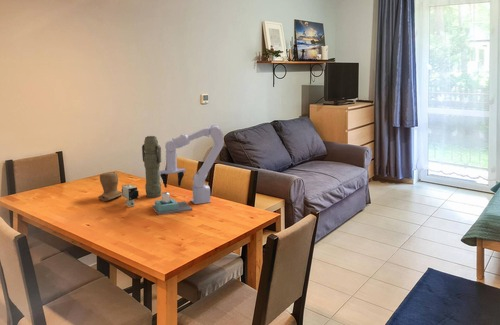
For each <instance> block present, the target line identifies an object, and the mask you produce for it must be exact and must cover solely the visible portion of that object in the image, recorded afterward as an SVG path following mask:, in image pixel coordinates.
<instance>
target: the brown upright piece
mask: <svg viewBox="0 0 500 325" xmlns="http://www.w3.org/2000/svg"><path fill="white" fill-rule="evenodd" d="M99 183H100V185H101V187H102V189H103V193H102V194H100V195H99V196H97V197H98V199H99V200H101V201H103V202H107V201H111V200H113V199H115V198H116V199H117V197H118V198H119V197H121V196H123V194H122V191H119V190H118V185H119V177H118V173H117V172H116V171H110V172H103V173H100V174H99Z"/></svg>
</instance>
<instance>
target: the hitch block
mask: <svg viewBox="0 0 500 325" xmlns="http://www.w3.org/2000/svg"><path fill="white" fill-rule="evenodd" d="M151 207H152V208H153V210H154V211H155V213H156V214H157V216H160V215H169V214H176V213H184V212H190V211H193V207H191V206H190V205H189V203H188V202H186V201H185V200H183V201H176V200H175V199H174V198H170V204H162V199H158V200H154V204H152V206H151Z"/></svg>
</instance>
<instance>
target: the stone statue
mask: <svg viewBox="0 0 500 325" xmlns="http://www.w3.org/2000/svg"><path fill="white" fill-rule="evenodd" d="M143 142H144V143H143V144H142V146H141V156H142V162H143V163H144V164H143V166H144V168H145V185H144V186H145V187H144V188H145V196H146V198H150V199H151V198H152V199H155V198H159V197H162V184H161V180H160V179H161V176H160V175H158V171H160V168H161V163H162V147H161V146H160V144H159V142H158V138H157V136H155V135H148V136H145V137H144V141H143Z"/></svg>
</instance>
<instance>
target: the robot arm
mask: <svg viewBox="0 0 500 325" xmlns="http://www.w3.org/2000/svg"><path fill="white" fill-rule="evenodd" d="M201 137H208V138H209V137H211V139H212V140H213V142H214V144H213V146H212V148H210V151H209V152H208V155H207V156H206V158H205V160H204V162H203V163H202V165H201V167H200V168H199V169H198V171H197V172H196V173H194V174H193V176H192V180H193V182H192V183H193V184H192V198H191V199H190V201H191V202H192V203H193V204H194V205H198V204H207V203H211V202H212V201H211V188H210V185H209V184H207V185H206V179H207V176H208V174H209V171H210V170H211V168H212V167H213V165H214V163H215V161H216V159H217V158H218V156H219V154H220V153H221V151H222V149H223V147H224V146H225V145H224V144H225V143H224V134H223V131H222V129H221V128H220V125H217V124H213V125H209V126H206V127H203V128H202V129H199V130H197V131H195V132H193V133H191V134H186V133H185V134H184V133H182V134H179V136H177V137H173V138H172V139H169V140H167V141H166V142H165V163H166V164H165V165H166V166H165V167H166V169H162V170H159V171H158V175H160V179H161V180H162V182H163V185H164V188H165V189H166V188H167V175H171V174H177V185H178V187H181V183H182V180H183V178H184V175H185V173H186V169H185V168H178V161H177V160H178V159H177V158H178V157H177V156H178V155H177V149H180V148H183V147H185V146H187V145H189V144H190V142H191V141H194V140H197V139H199V138H201Z"/></svg>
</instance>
